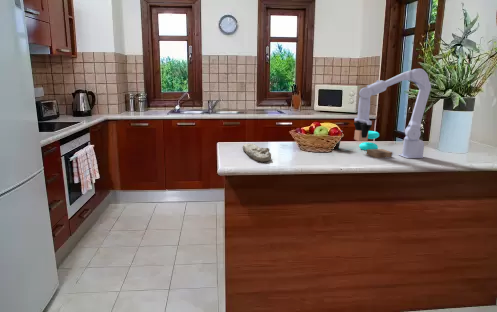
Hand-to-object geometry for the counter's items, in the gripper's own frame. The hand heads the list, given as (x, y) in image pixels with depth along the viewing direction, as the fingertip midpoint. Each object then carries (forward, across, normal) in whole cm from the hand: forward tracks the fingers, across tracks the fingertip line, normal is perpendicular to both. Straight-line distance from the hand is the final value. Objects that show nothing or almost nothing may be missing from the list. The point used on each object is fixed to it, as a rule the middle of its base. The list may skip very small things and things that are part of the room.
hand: (361, 136), depth 187 cm
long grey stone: (+9, -2, -57) cm, 57 cm away
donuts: (+9, -9, +10) cm, 16 cm away
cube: (+2, 0, 0) cm, 2 cm away
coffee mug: (+9, -13, -8) cm, 18 cm away
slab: (+9, +7, +7) cm, 13 cm away
